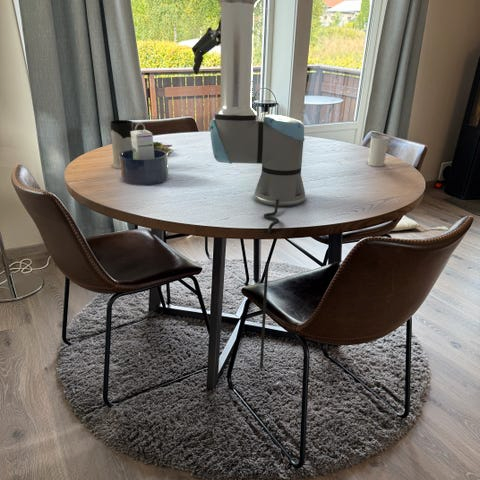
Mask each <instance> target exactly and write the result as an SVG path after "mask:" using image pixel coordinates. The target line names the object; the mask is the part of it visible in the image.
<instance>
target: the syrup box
mask: <svg viewBox="0 0 480 480" xmlns="http://www.w3.org/2000/svg"><path fill="white" fill-rule="evenodd" d="M131 141H132V151H133V159H155V158H154V146H153V142H154V137H153V132H151V131H149V130H147V129H146V130H144V129H136V131H135V130H133V131H131Z"/></svg>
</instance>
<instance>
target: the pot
mask: <svg viewBox="0 0 480 480" xmlns="http://www.w3.org/2000/svg"><path fill="white" fill-rule="evenodd" d="M119 158H120V167H121V169H120V175H121V177H120V178H121V181H122V182H123V183H125V184H129V185H134V186H152V185H159V184H163V183H165V182H167V181H168V180H169V160H168V158H169V157H168V155H167V153H166V152H164V151H162V150H157V149H154V158H155V159H133V151H132V150H127V151H124V152H121V153H120V154H119Z"/></svg>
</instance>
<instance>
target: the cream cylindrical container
mask: <svg viewBox="0 0 480 480" xmlns="http://www.w3.org/2000/svg"><path fill="white" fill-rule="evenodd" d="M389 141H390V136H387V135H381V134H374V135H370V144H369V153H368V161H367V162H368V163H367V164H368V166H371V167H383V166H384V165H385V160H386V156H387V152H388V148H389V147H388V146H389Z"/></svg>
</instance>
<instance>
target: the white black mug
mask: <svg viewBox="0 0 480 480" xmlns="http://www.w3.org/2000/svg"><path fill="white" fill-rule="evenodd" d="M109 124H110V139H111V145H112V156H113V165H112V166H113V168H115V169H119V170H121V167H120V158H119V154H120V153H121V152H124V151H127V150H132V141H131V131H136V130H138V129H137V128H138V127H139V126H140V125H142V127H143V130H147V129H146V126H145V124H143V123H141V122H138V123H136V125H135V127H133V121H132V120H128V119H117V120H116V119H115V120H111V121H110V123H109Z"/></svg>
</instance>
